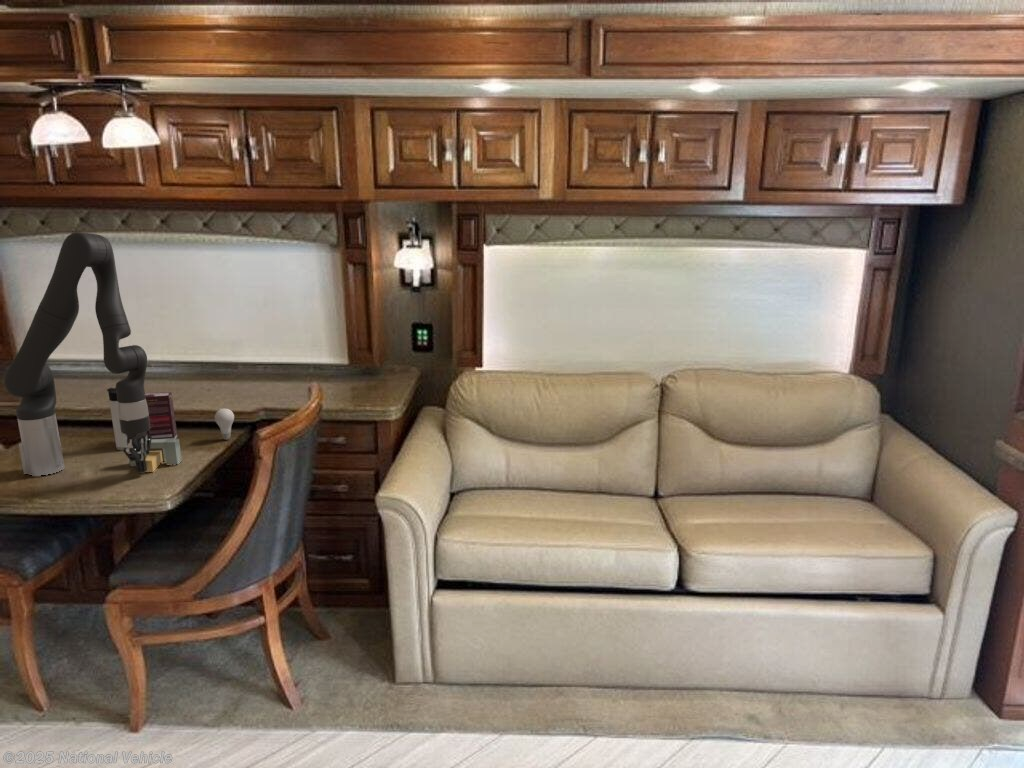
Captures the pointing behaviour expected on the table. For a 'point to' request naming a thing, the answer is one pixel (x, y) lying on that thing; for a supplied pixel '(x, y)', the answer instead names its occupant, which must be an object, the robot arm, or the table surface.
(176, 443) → the grey-blue bridge block
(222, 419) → the lightbulb
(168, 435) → the supplement box
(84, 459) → the table surface
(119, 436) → the travel mug
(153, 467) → the plug
